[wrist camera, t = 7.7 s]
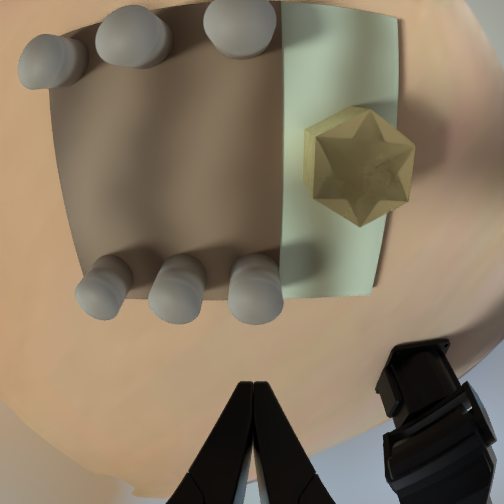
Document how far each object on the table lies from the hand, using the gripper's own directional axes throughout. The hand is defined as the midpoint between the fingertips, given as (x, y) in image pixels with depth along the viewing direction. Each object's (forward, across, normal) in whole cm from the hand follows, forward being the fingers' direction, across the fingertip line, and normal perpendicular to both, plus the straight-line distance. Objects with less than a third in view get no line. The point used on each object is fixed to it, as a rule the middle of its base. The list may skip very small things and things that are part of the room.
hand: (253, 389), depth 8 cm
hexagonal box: (+11, -5, -5) cm, 13 cm away
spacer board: (+11, +2, -4) cm, 12 cm away
